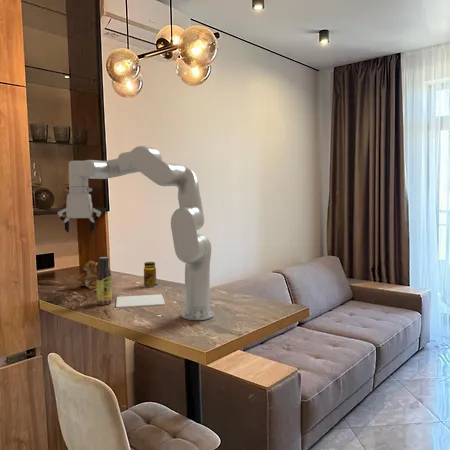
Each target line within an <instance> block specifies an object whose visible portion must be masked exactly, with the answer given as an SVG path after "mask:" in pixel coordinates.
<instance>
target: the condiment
mask: <svg viewBox="0 0 450 450" xmlns="http://www.w3.org/2000/svg"><path fill="white" fill-rule="evenodd" d="M159 284H160V283H159V282H157V268H156V262H154V261H145V262H144V268H143V286H142V288H158V286H159Z"/></svg>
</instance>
